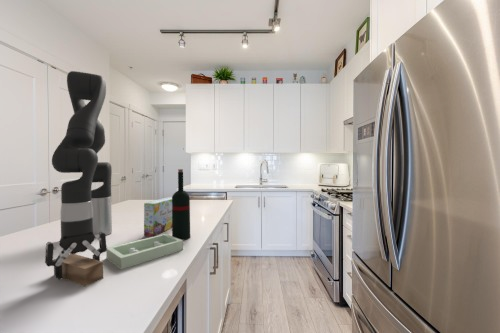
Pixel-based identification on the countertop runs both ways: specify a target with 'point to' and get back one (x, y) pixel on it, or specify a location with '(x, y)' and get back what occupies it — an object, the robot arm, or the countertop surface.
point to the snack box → (157, 216)
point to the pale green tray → (143, 250)
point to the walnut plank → (81, 269)
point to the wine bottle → (181, 211)
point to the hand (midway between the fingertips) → (78, 272)
